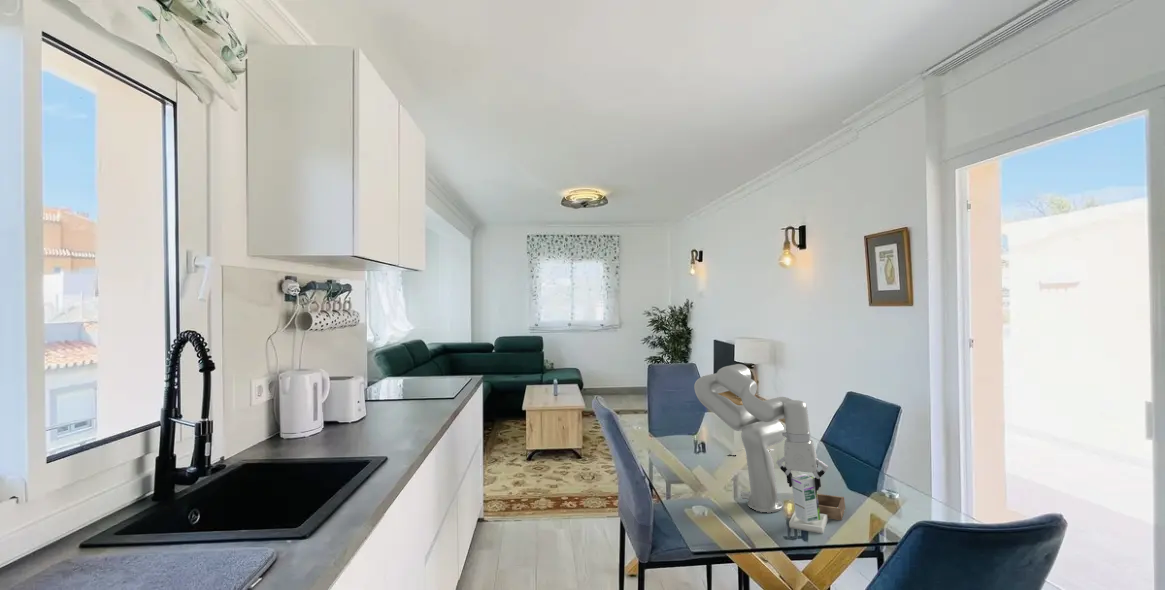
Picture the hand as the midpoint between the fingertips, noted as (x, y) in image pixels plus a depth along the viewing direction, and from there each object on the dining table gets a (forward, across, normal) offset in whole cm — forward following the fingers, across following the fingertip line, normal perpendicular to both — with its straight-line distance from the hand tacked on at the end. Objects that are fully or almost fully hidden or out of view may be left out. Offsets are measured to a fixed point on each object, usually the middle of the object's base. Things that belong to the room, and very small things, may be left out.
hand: (804, 486), depth 166 cm
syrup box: (+11, 0, 0) cm, 11 cm away
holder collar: (+13, +4, +12) cm, 18 cm away
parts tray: (+13, 0, 0) cm, 13 cm away
